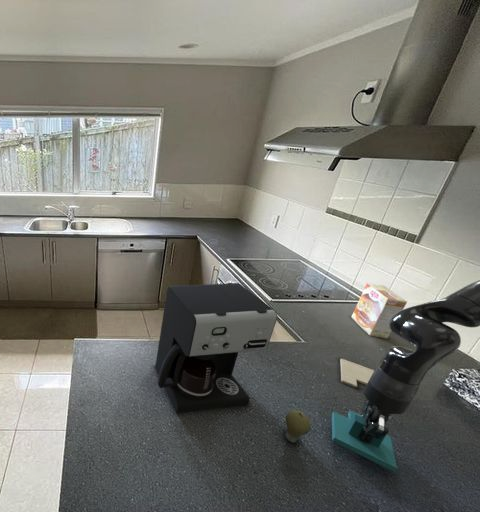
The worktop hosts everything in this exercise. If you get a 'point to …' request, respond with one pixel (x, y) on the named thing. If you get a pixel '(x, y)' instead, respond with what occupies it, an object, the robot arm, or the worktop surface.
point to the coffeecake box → (377, 309)
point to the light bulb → (296, 425)
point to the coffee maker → (209, 343)
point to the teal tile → (348, 437)
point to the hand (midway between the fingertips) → (363, 435)
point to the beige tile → (354, 373)
